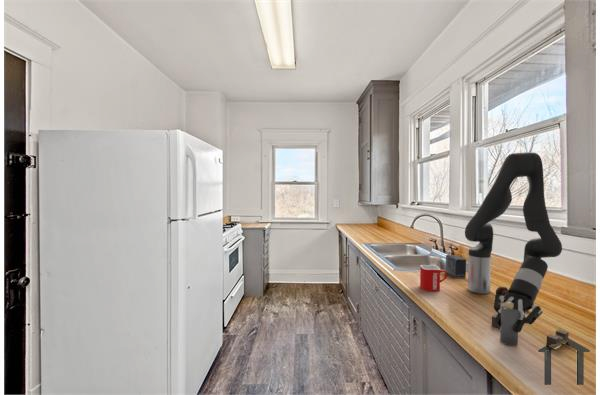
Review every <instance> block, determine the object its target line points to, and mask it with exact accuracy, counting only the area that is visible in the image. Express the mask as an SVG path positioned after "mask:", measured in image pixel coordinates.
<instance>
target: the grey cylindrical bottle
mask: <svg viewBox="0 0 600 395" xmlns="http://www.w3.org/2000/svg"><path fill="white" fill-rule="evenodd" d="M505 302H506V301H505ZM517 320H519V310H518V309H516V308H514V303H512V302H506V306H502V305H501V327H500V328H499V329H500V331H499V332H500V333H499V334H500V335H499V336H500V338H499V341H500V342H501V343H502V344H505V345H508V346H512V347H514V346H518V345H519V344H518V343H519V332H518V333H516V332H514V330H513V328H514V325H515V323H516V321H517Z"/></svg>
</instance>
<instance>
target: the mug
mask: <svg viewBox="0 0 600 395" xmlns="http://www.w3.org/2000/svg"><path fill="white" fill-rule="evenodd" d="M419 267H420V268H419V269H420V274H419V275H420V277H419V278H420V279H419V280H420V281H419V282H420V283H419V284H420V285H419V286H420V288H421V289H422V291H424V290H425V292H440V291H441V289H440V288H441V283H442V282H444V281H445V280H446V279H447V278H448V277H447V275H448V274H447V272H446V269H445V270H444V269H441V268H440V267H439V266H438V265H435V264H433V265H432V264H420V265H419ZM441 273H444V277H443V278H441Z"/></svg>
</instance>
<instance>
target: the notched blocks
mask: <svg viewBox="0 0 600 395" xmlns="http://www.w3.org/2000/svg"><path fill="white" fill-rule="evenodd" d="M496 316H497V314H494V315H491V326H492V327H495V328H497V329H500V328H501V326H497V324H496V322H495V319H496ZM569 335H570V334H569V331H566V330H562V329H561V328H560V329H557V330H555V335H554V334H552V333H550V334H548V335H546V343H545V344H546V346H549V345H551V344H557V343H560V341H564V340H568V341H569Z"/></svg>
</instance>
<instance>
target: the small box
mask: <svg viewBox="0 0 600 395" xmlns="http://www.w3.org/2000/svg"><path fill="white" fill-rule="evenodd" d="M445 271H446V272H447V275H449V276H451V277H453V278H455V279H458V278H459V279H465V278H466V274H467V272H466V271H467V259H466V258H464V257H461V256H458V254H457V255H456V254H446V255H445Z"/></svg>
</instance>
